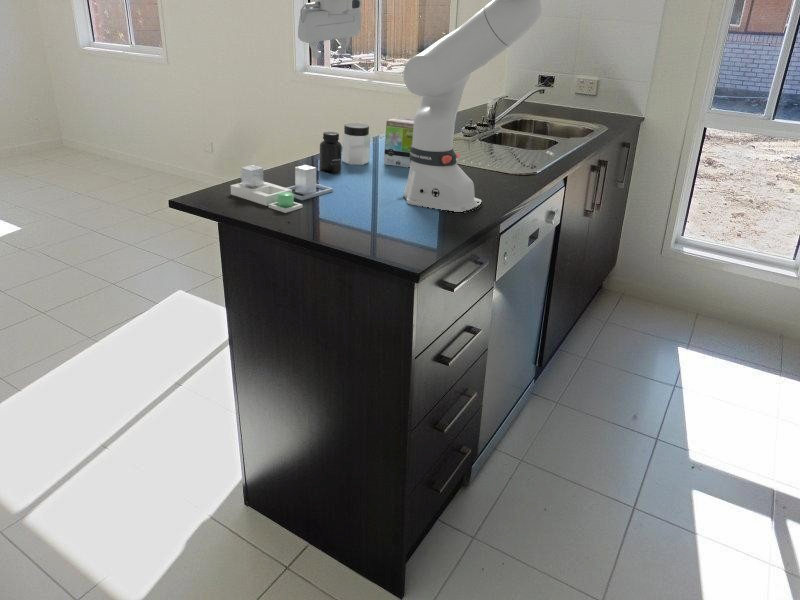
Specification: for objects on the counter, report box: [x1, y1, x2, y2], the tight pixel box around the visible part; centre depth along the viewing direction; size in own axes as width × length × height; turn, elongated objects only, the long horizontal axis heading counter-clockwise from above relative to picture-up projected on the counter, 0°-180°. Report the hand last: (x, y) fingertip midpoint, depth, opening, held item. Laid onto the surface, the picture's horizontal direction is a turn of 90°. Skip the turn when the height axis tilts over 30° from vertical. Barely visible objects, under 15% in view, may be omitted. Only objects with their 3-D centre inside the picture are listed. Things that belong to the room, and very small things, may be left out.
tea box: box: [383, 115, 414, 168], centre depth 208 cm, size 15×10×15 cm, turn 76°
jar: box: [341, 122, 371, 166], centre depth 208 cm, size 9×8×12 cm
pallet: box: [229, 180, 293, 207], centre depth 165 cm, size 14×9×4 cm, turn 54°
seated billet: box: [240, 164, 265, 189], centre depth 166 cm, size 4×4×7 cm
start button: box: [277, 192, 295, 208], centre depth 158 cm, size 4×4×3 cm
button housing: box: [268, 201, 304, 214], centre depth 159 cm, size 6×6×2 cm
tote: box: [286, 183, 334, 201], centre depth 172 cm, size 9×12×2 cm
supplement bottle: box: [318, 131, 343, 175], centre depth 194 cm, size 7×7×12 cm
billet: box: [294, 164, 317, 196], centre depth 170 cm, size 4×4×7 cm
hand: (329, 56), depth 171 cm, fingers open, 8 cm apart
